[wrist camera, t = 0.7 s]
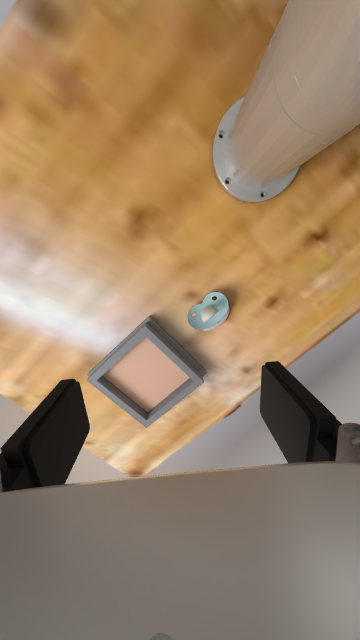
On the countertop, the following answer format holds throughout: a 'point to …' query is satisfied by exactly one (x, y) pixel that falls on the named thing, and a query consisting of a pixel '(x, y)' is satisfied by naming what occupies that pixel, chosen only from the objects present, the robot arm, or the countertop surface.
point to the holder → (147, 373)
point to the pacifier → (209, 312)
